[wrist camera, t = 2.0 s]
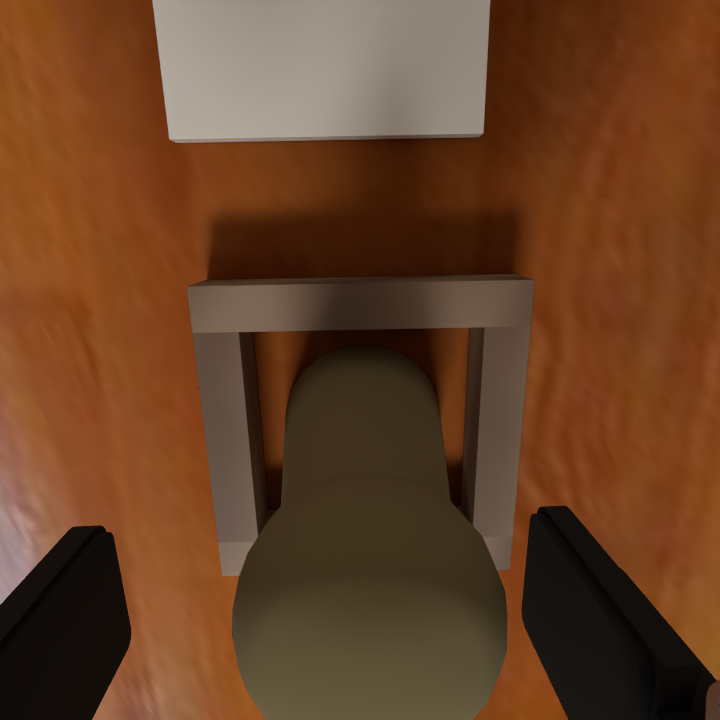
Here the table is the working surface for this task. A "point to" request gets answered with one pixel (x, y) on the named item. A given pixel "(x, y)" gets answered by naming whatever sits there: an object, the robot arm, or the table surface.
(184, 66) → the coaster
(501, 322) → the holder
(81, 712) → the robot arm
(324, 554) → the cork
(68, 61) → the table surface
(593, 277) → the table surface
